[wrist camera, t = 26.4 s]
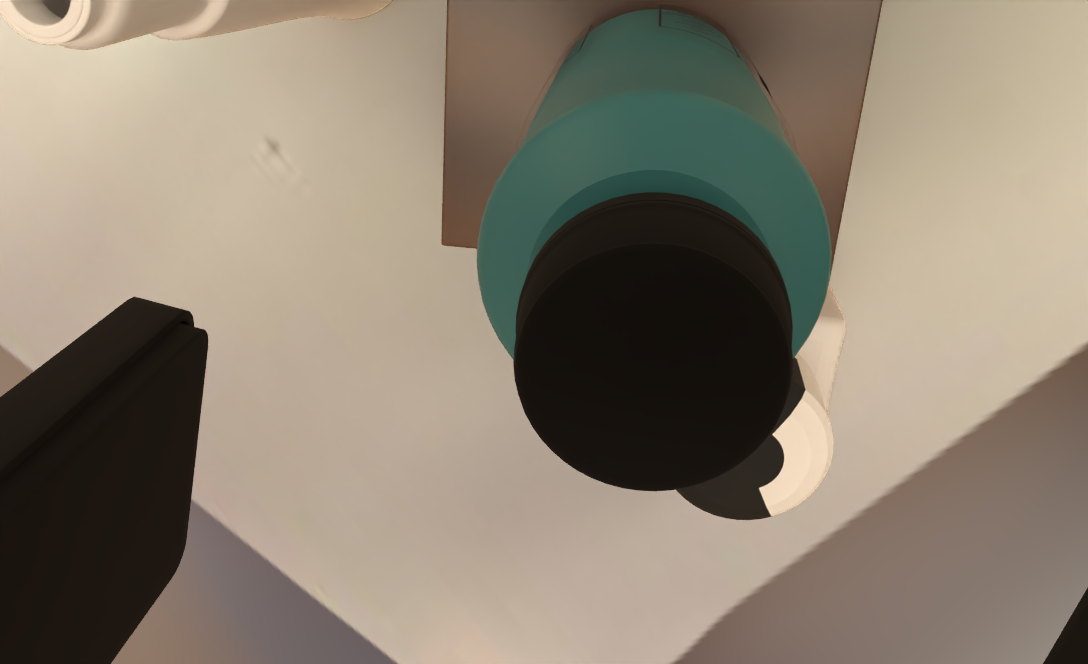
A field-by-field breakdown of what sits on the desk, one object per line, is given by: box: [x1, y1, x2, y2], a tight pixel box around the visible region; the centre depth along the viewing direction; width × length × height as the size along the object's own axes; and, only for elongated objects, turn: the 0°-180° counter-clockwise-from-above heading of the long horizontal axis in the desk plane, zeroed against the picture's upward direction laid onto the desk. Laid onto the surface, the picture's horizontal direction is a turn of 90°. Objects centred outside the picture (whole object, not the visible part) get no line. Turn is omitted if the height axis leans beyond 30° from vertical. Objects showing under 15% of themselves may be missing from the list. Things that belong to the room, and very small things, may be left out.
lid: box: [442, 0, 883, 281], centre depth 29 cm, size 16×13×5 cm
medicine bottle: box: [676, 284, 846, 520], centre depth 41 cm, size 7×7×12 cm
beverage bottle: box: [477, 4, 832, 491], centre depth 23 cm, size 6×7×20 cm
